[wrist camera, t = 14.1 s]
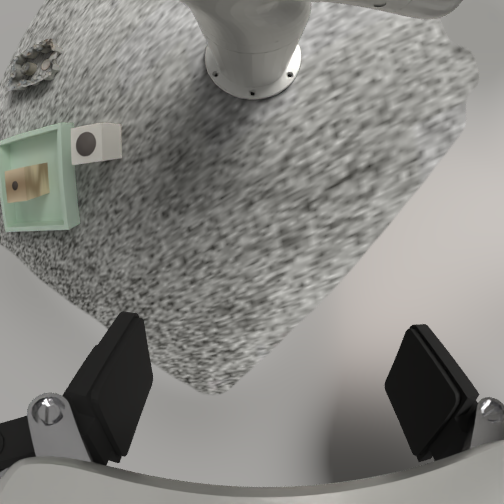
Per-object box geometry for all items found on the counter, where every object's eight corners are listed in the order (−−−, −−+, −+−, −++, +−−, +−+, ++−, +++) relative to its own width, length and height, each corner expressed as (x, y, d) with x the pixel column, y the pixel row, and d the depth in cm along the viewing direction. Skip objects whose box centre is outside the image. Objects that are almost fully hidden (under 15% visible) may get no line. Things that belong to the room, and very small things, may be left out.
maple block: (27, 166, 37) (4, 171, 31) (47, 162, 37) (23, 167, 31) (29, 195, 38) (7, 203, 33) (49, 192, 38) (26, 200, 33)
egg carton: (66, 41, 30) (53, 35, 27) (59, 82, 33) (44, 79, 29) (23, 55, 30) (9, 52, 26) (17, 93, 33) (2, 92, 29)
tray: (9, 140, 35) (-4, 142, 32) (74, 123, 35) (61, 122, 32) (17, 226, 41) (5, 232, 38) (80, 223, 41) (68, 229, 38)
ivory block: (92, 129, 36) (70, 128, 30) (121, 124, 36) (101, 122, 30) (93, 161, 38) (71, 165, 32) (121, 158, 38) (102, 161, 32)
